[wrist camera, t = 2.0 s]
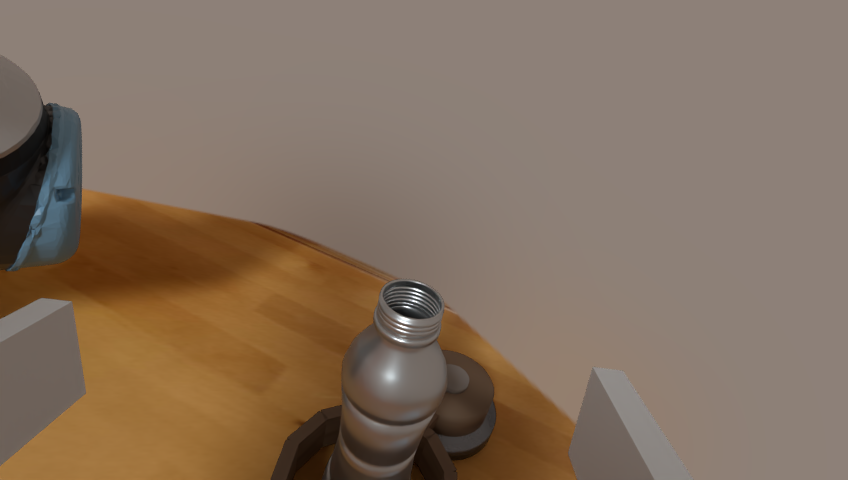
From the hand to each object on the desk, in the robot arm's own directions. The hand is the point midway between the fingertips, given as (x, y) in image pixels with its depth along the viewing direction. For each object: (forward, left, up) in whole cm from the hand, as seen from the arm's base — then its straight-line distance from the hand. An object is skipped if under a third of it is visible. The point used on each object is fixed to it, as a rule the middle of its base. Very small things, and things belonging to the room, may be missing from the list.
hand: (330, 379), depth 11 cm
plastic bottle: (-8, +8, -25) cm, 28 cm away
